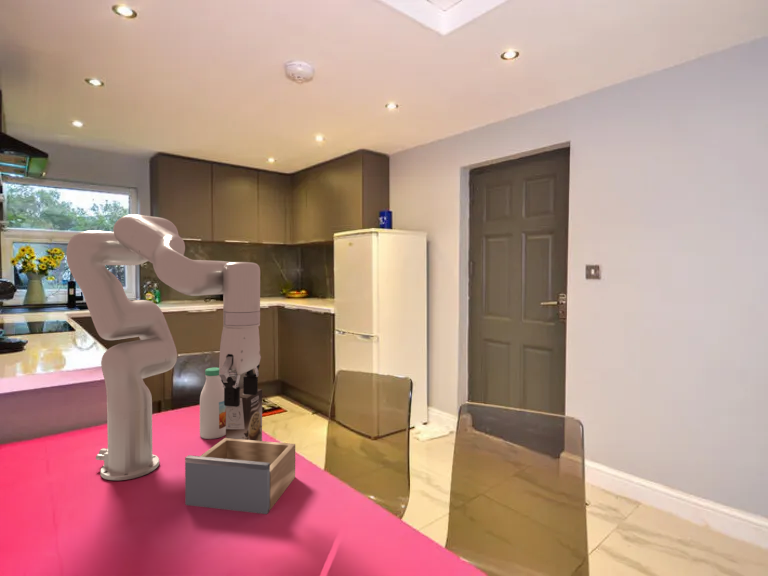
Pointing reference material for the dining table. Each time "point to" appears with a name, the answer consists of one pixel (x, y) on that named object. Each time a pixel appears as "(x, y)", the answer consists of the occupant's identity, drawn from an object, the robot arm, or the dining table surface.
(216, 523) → the dining table surface
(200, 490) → the panel
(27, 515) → the dining table surface
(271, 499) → the crate
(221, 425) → the milk bottle
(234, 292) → the robot arm
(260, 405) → the coffee box
